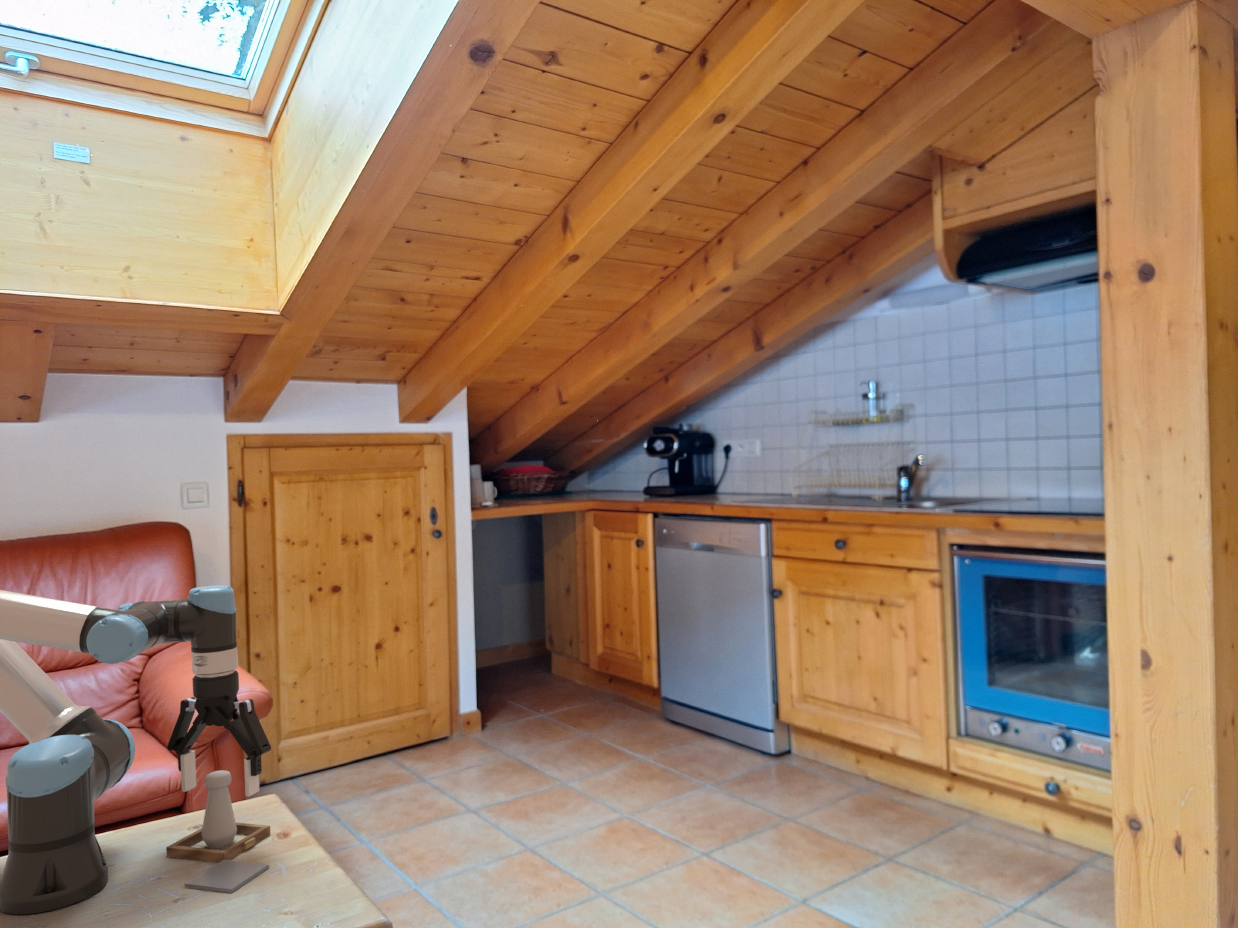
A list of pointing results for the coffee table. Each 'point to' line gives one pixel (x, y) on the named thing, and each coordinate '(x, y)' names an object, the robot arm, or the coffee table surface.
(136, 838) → the coffee table surface
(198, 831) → the brown wooden frame
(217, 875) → the coaster
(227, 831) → the salt shaker
